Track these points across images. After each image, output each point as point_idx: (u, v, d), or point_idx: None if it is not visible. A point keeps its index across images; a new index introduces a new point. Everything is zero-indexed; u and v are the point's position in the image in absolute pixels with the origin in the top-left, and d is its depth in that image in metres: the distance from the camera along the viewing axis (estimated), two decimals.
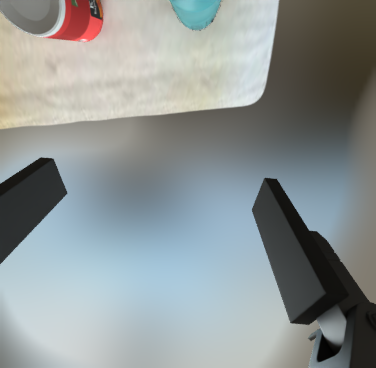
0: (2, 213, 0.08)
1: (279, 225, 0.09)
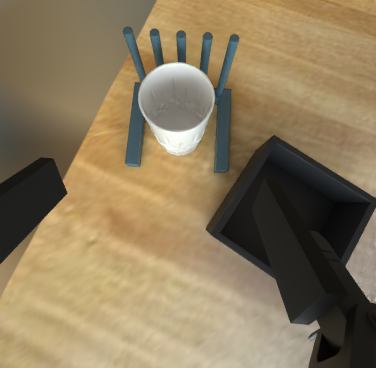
0: (2, 213, 0.08)
1: (279, 225, 0.09)
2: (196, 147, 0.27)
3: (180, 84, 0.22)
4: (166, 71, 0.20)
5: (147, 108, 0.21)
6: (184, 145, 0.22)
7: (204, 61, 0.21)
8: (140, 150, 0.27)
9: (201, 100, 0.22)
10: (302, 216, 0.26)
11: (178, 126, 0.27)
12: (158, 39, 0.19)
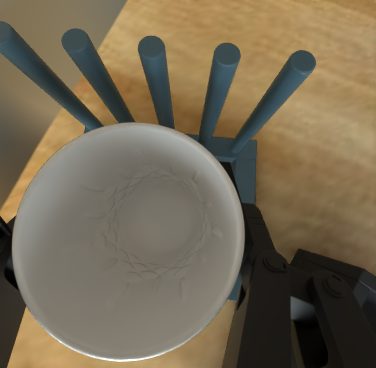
0: None
1: None
2: None
3: (156, 157, 0.09)
4: (112, 141, 0.07)
5: (71, 221, 0.08)
6: None
7: (213, 108, 0.09)
8: None
9: (203, 190, 0.10)
10: None
11: (159, 210, 0.14)
12: (90, 58, 0.07)
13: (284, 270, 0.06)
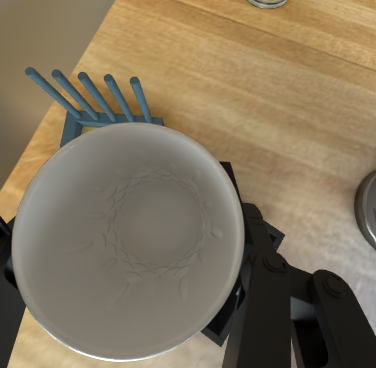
0: None
1: None
2: None
3: (156, 157, 0.09)
4: (112, 141, 0.07)
5: (71, 221, 0.08)
6: None
7: (116, 97, 0.22)
8: None
9: (203, 190, 0.10)
10: None
11: (158, 210, 0.14)
12: (62, 79, 0.20)
13: (284, 270, 0.06)
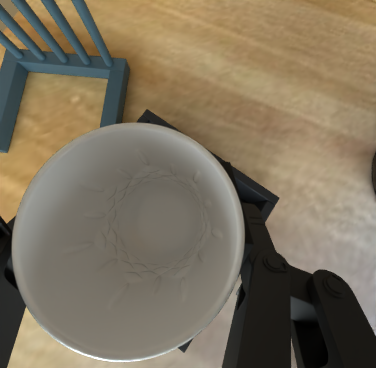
0: None
1: None
2: None
3: (156, 157, 0.09)
4: (112, 142, 0.07)
5: (71, 222, 0.08)
6: None
7: (48, 7, 0.16)
8: (6, 131, 0.22)
9: (203, 190, 0.10)
10: None
11: (159, 211, 0.14)
12: None
13: (284, 270, 0.06)
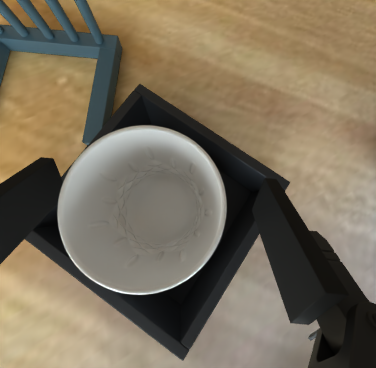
0: (2, 213, 0.08)
1: (279, 225, 0.09)
2: None
3: (159, 153, 0.12)
4: (127, 140, 0.10)
5: (93, 203, 0.11)
6: None
7: None
8: None
9: (198, 179, 0.12)
10: None
11: (160, 200, 0.17)
12: None
13: None
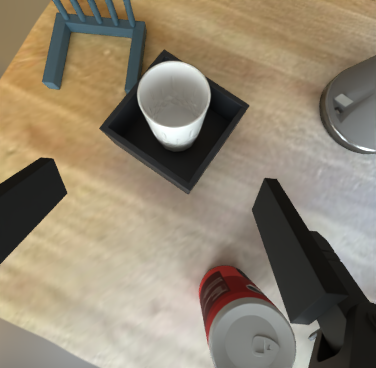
0: (2, 213, 0.08)
1: (279, 225, 0.09)
2: (192, 144, 0.28)
3: (178, 82, 0.22)
4: (164, 69, 0.20)
5: (146, 104, 0.22)
6: (181, 141, 0.23)
7: None
8: (59, 73, 0.30)
9: (198, 98, 0.23)
10: (201, 133, 0.29)
11: (175, 123, 0.27)
12: None
13: None
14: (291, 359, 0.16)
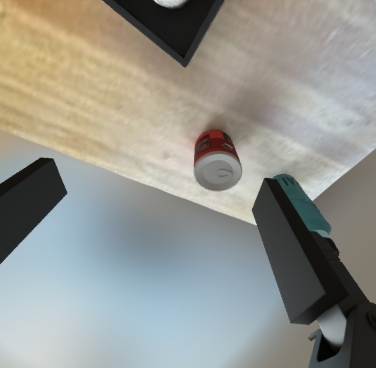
0: (2, 213, 0.08)
1: (279, 225, 0.09)
2: None
3: None
4: None
5: None
6: (174, 3, 0.21)
7: None
8: None
9: None
10: None
11: None
12: None
13: None
14: (237, 180, 0.30)
